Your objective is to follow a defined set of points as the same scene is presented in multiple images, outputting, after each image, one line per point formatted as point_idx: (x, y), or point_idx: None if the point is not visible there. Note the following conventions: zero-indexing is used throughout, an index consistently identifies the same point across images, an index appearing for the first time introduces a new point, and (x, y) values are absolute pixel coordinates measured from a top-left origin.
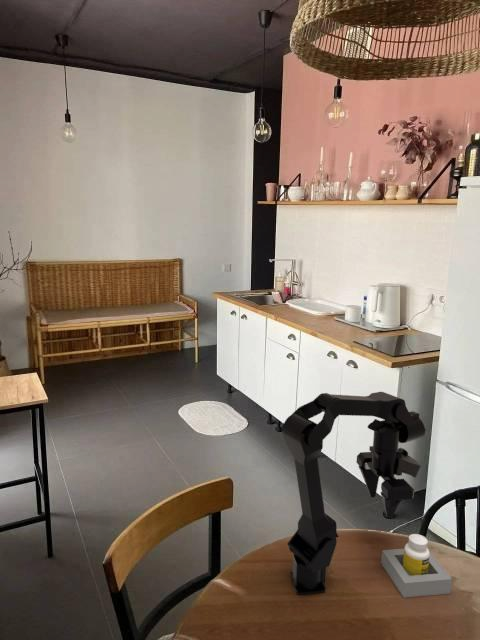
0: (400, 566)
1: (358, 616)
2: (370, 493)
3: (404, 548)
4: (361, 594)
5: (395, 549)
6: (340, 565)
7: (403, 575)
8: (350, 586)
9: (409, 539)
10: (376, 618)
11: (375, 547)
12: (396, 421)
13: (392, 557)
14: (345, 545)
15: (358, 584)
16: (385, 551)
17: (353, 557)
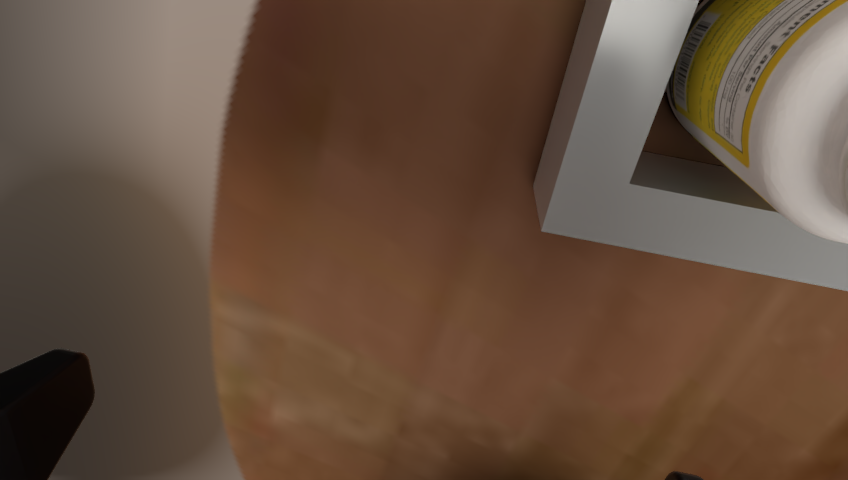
0: (756, 221)
1: (781, 477)
2: (50, 464)
3: (783, 215)
4: (683, 405)
5: (575, 126)
6: (464, 383)
7: (841, 262)
8: (614, 417)
9: None
10: (841, 430)
11: (372, 119)
12: None
13: (644, 212)
14: (315, 281)
15: (620, 383)
16: (561, 217)
17: (426, 298)
